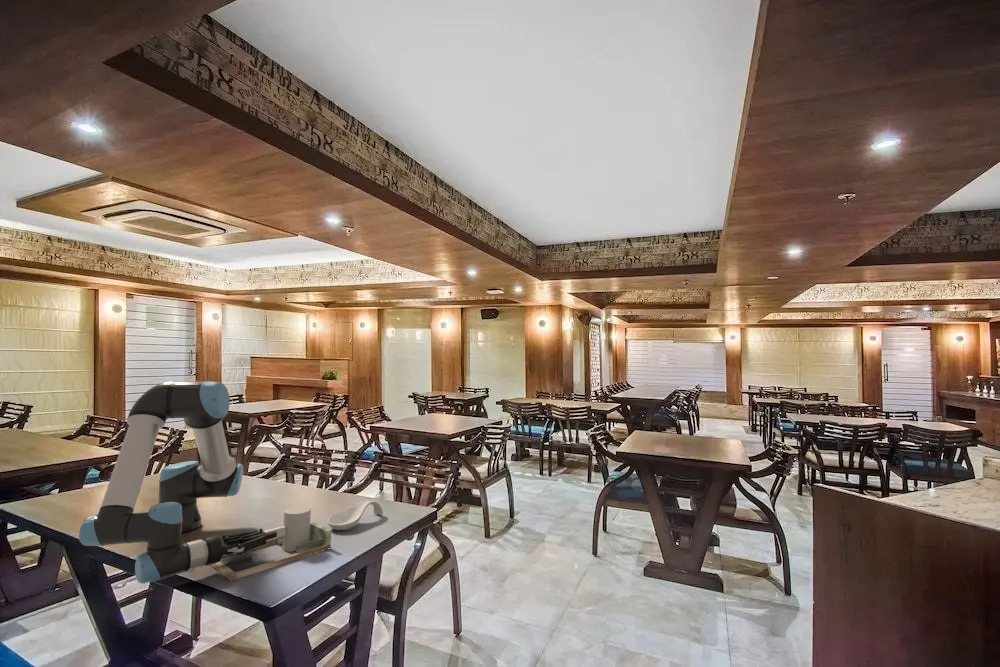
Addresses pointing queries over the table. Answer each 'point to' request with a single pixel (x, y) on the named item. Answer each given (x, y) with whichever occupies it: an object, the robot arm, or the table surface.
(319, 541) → the wooden tray frame
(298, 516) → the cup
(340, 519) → the spoon rest
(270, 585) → the table surface
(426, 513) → the table surface
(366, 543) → the table surface
